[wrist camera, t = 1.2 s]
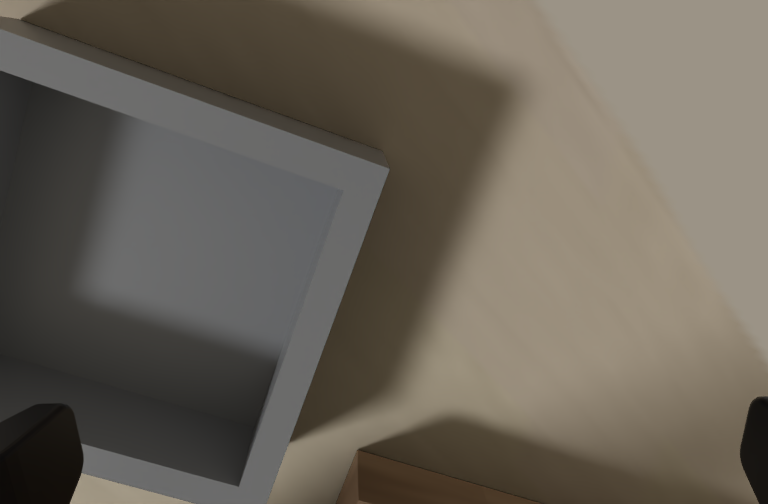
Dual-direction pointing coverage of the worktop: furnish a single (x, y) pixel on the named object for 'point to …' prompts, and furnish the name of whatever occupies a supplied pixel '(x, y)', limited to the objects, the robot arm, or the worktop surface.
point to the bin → (167, 263)
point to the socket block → (412, 485)
